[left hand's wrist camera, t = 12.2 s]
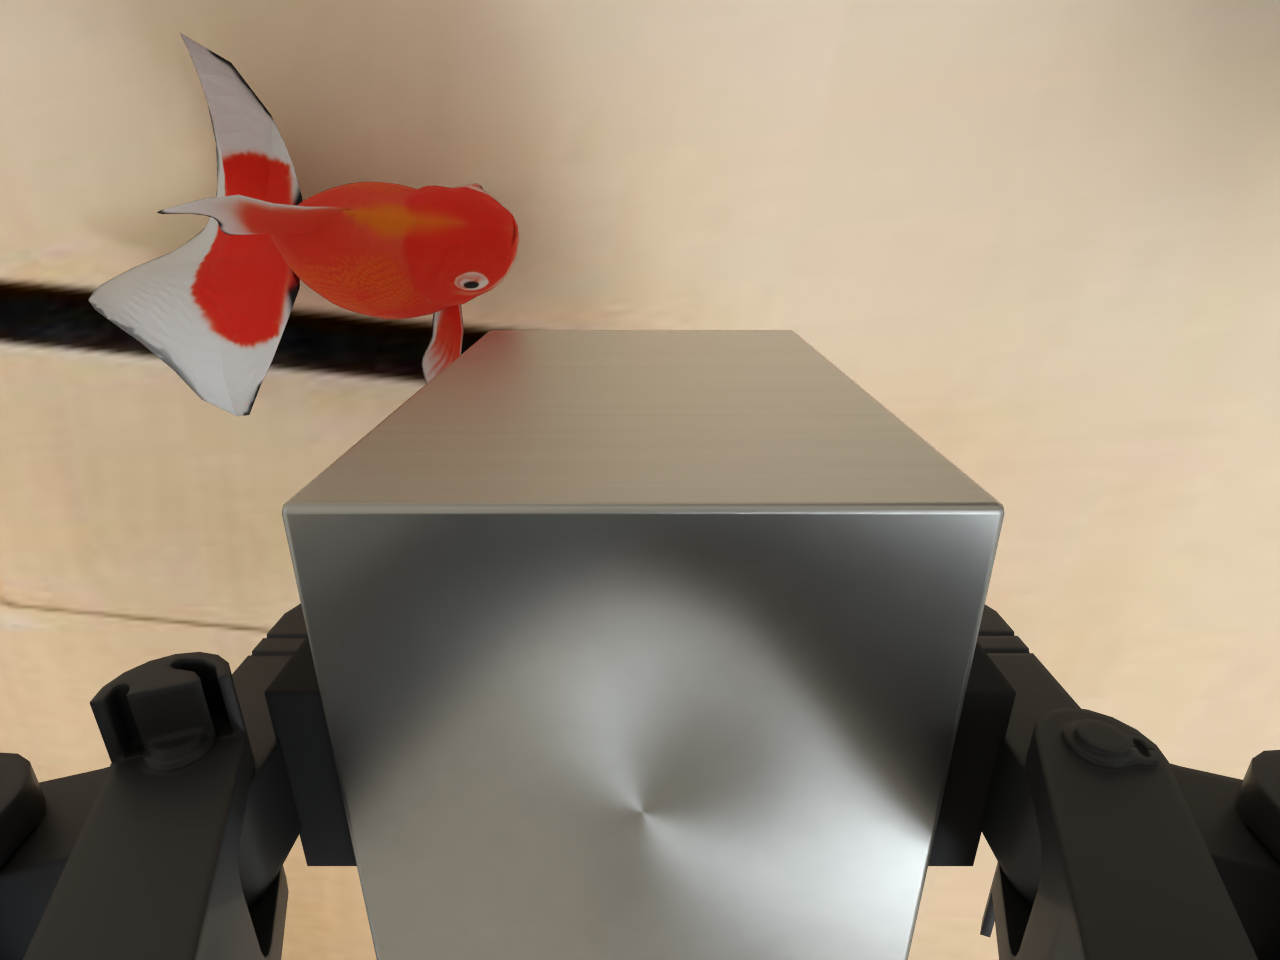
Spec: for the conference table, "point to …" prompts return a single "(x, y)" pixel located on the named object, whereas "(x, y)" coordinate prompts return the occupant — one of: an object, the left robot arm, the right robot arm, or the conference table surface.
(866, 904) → the block
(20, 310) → the conference table surface
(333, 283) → the fish
